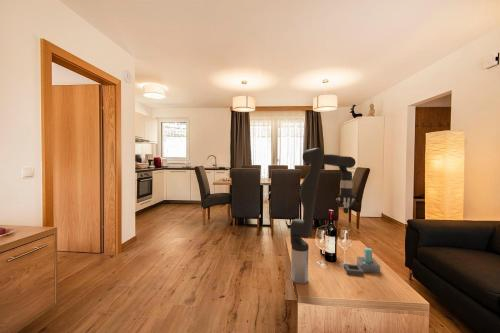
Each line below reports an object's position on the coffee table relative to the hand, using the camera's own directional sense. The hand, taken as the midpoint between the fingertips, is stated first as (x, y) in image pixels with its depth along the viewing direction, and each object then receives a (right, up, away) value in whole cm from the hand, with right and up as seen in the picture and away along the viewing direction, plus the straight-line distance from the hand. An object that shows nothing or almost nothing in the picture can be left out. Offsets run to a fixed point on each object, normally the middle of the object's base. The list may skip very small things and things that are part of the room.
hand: (345, 213), depth 158 cm
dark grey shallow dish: (-1, -32, -15) cm, 35 cm away
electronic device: (-8, -32, +12) cm, 35 cm away
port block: (+10, -32, -10) cm, 35 cm away
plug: (+10, -32, -10) cm, 35 cm away
